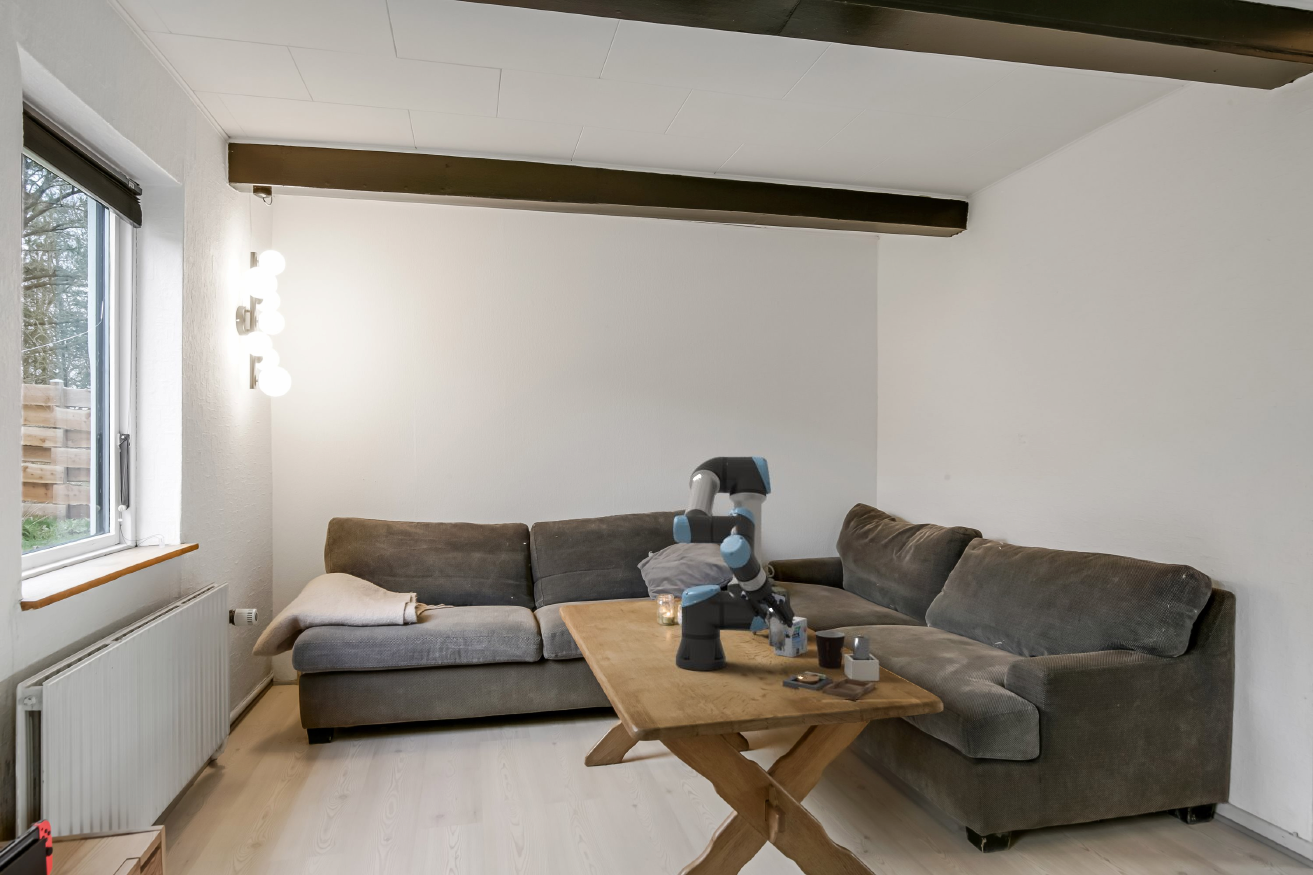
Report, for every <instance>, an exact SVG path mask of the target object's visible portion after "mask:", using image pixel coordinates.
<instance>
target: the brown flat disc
mask: <svg viewBox="0 0 1313 875" xmlns="http://www.w3.org/2000/svg"><path fill="white" fill-rule="evenodd" d="M814 673H815V672H812V673H804V672H798V673H797V674H796V675H797V681H798V682H800V683H805V684H815V683H818V682H819V675H817V674H814Z"/></svg>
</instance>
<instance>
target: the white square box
mask: <svg viewBox="0 0 1313 875" xmlns="http://www.w3.org/2000/svg"><path fill="white" fill-rule="evenodd" d="M843 654H844V653H843ZM843 657H844V675H846V676H847V678H850V679H856V680H861V681H866V682H872V681H873V682H877V681H880V661H879V660H878V658H876V657H875V656H874V655H873V654H871V653H870V660H853V653H851V654H850V653H848V654H847V653H845V654H844V656H843Z"/></svg>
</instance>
